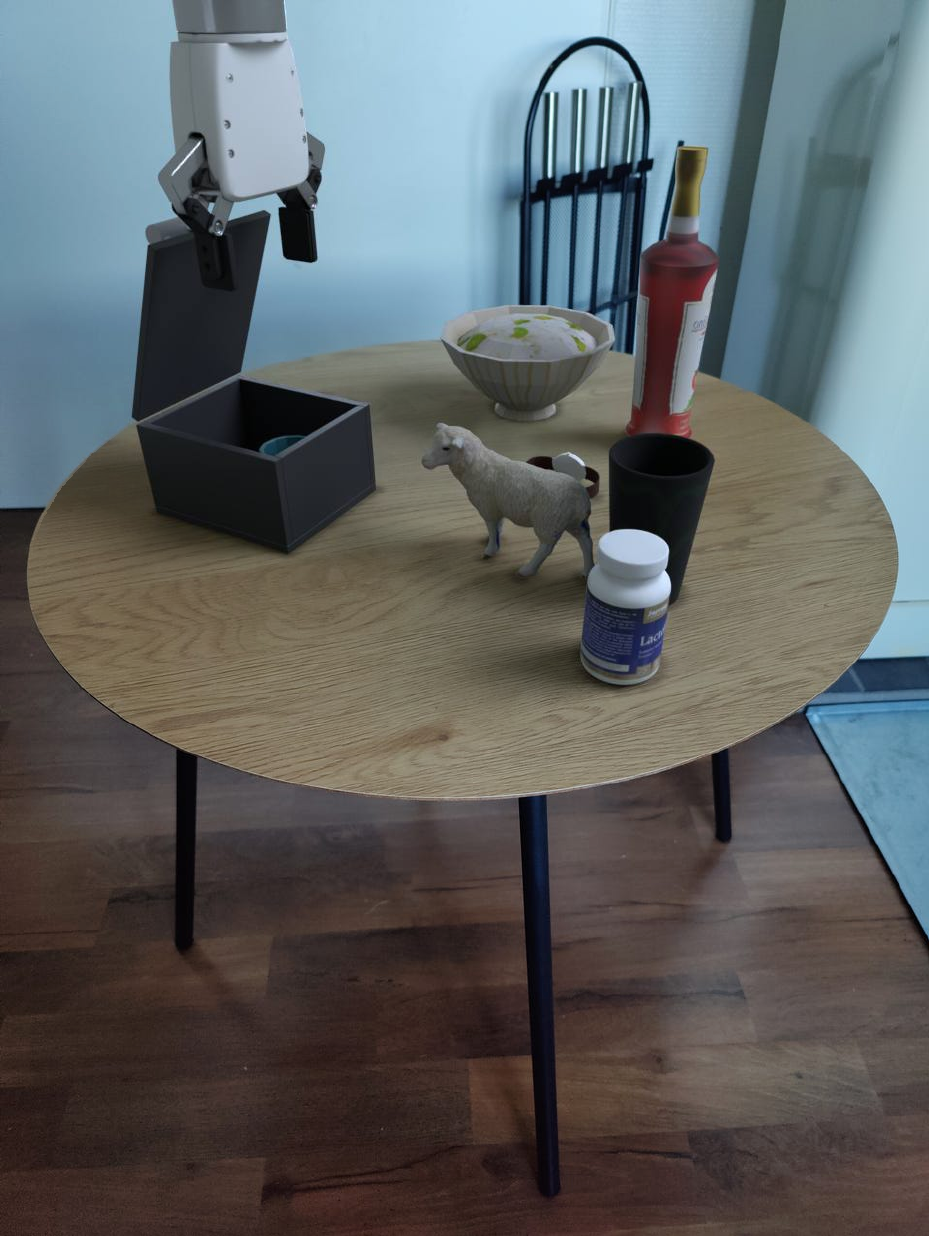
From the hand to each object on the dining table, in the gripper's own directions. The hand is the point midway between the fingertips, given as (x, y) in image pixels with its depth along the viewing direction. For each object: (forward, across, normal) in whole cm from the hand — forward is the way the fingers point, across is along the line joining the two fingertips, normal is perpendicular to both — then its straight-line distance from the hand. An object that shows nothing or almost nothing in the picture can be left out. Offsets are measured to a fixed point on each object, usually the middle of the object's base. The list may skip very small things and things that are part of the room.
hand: (262, 273), depth 72 cm
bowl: (+21, -32, +8) cm, 39 cm away
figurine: (+22, -2, +21) cm, 30 cm away
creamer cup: (+21, -1, 0) cm, 21 cm away
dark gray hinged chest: (+22, -1, -4) cm, 22 cm away
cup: (+22, -4, +33) cm, 40 cm away
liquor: (+21, -31, +24) cm, 45 cm away
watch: (+21, -16, +20) cm, 33 cm away
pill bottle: (+22, +6, +35) cm, 42 cm away
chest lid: (+5, -1, -8) cm, 9 cm away
